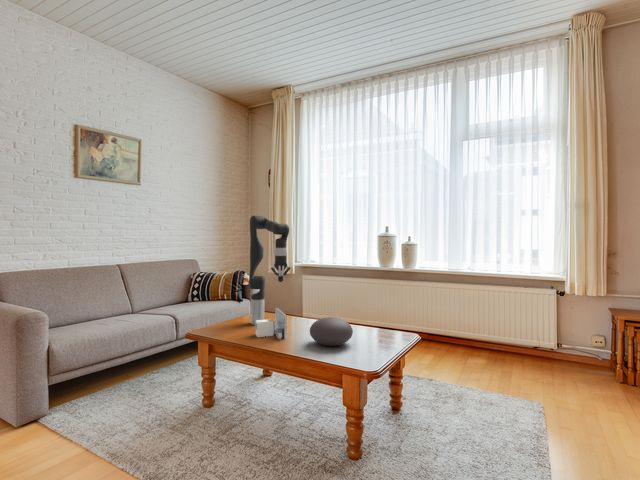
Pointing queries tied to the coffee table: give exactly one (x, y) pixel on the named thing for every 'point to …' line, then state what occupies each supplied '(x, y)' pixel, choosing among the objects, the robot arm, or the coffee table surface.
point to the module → (264, 328)
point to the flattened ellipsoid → (331, 331)
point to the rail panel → (280, 324)
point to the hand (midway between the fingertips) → (280, 281)
